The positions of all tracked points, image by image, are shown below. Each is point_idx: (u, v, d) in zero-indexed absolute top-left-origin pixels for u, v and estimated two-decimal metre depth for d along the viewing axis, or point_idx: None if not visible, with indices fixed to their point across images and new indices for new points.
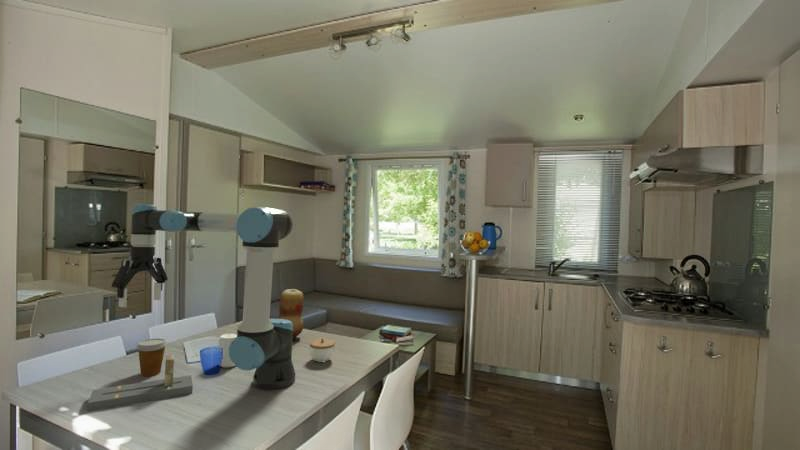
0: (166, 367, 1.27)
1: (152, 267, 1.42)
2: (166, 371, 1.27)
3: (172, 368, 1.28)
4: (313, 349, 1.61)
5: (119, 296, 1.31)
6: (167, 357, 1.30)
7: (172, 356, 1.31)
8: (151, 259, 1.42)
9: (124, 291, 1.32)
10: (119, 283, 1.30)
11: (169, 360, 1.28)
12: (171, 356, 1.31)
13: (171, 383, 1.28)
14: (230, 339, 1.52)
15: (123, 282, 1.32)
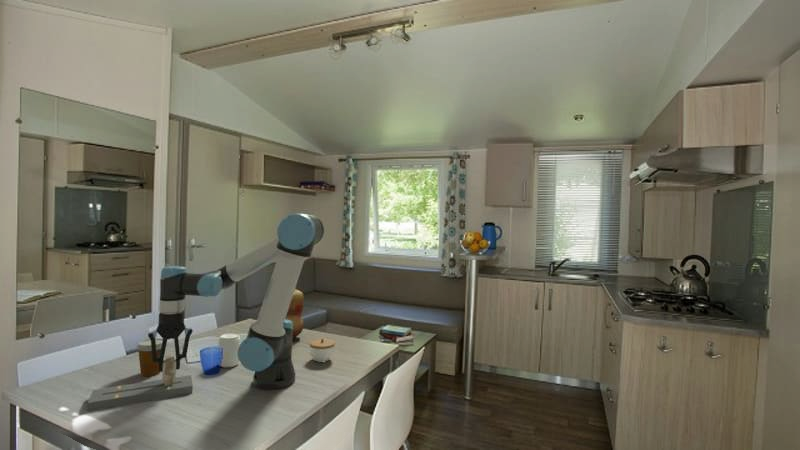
0: (166, 367, 1.27)
1: (176, 337, 1.29)
2: (166, 371, 1.27)
3: (172, 368, 1.28)
4: (313, 349, 1.61)
5: None
6: (167, 357, 1.30)
7: (172, 356, 1.31)
8: (181, 326, 1.30)
9: (162, 364, 1.28)
10: (154, 357, 1.26)
11: (169, 360, 1.28)
12: (171, 356, 1.31)
13: (171, 383, 1.28)
14: (230, 339, 1.52)
15: None
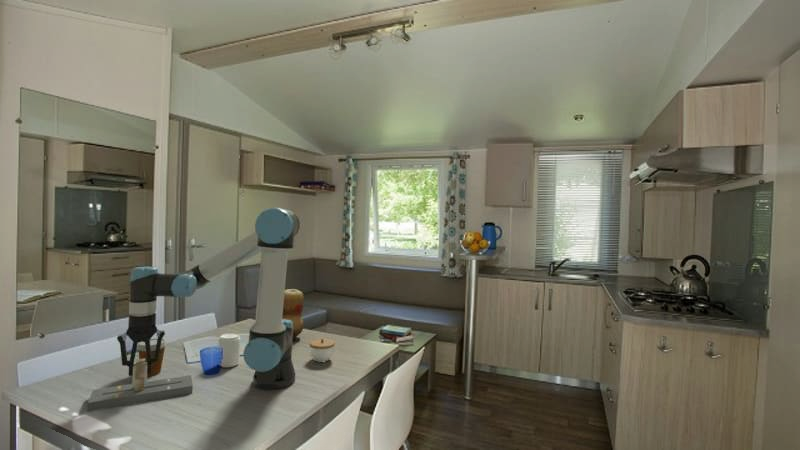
0: (136, 371, 1.23)
1: (147, 340, 1.25)
2: (136, 375, 1.23)
3: (143, 372, 1.24)
4: (313, 349, 1.61)
5: None
6: (138, 361, 1.25)
7: (143, 360, 1.26)
8: (153, 328, 1.26)
9: (133, 368, 1.23)
10: (123, 361, 1.22)
11: (140, 364, 1.23)
12: (142, 360, 1.26)
13: (142, 388, 1.24)
14: (230, 339, 1.52)
15: None
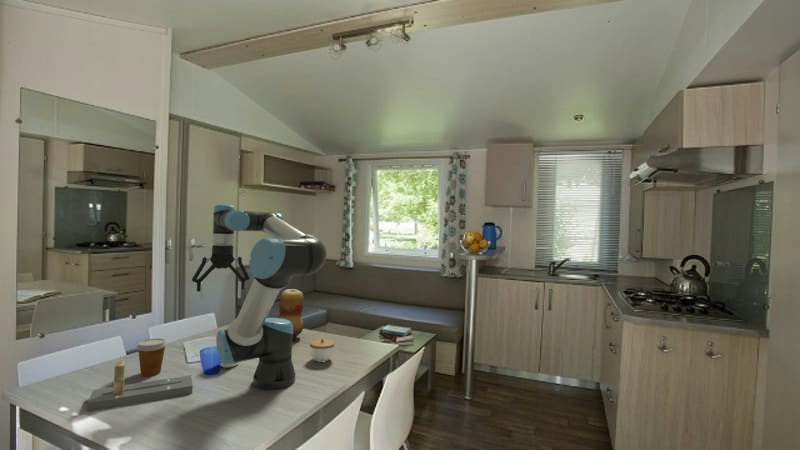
0: (115, 374, 1.20)
1: (230, 265, 1.47)
2: (115, 378, 1.20)
3: (122, 375, 1.21)
4: (313, 349, 1.61)
5: (197, 290, 1.43)
6: (117, 363, 1.22)
7: (123, 362, 1.23)
8: (230, 258, 1.48)
9: (200, 285, 1.43)
10: (195, 277, 1.41)
11: (119, 367, 1.20)
12: (122, 362, 1.23)
13: (121, 391, 1.21)
14: None
15: (200, 277, 1.43)
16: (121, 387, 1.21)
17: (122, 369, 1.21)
